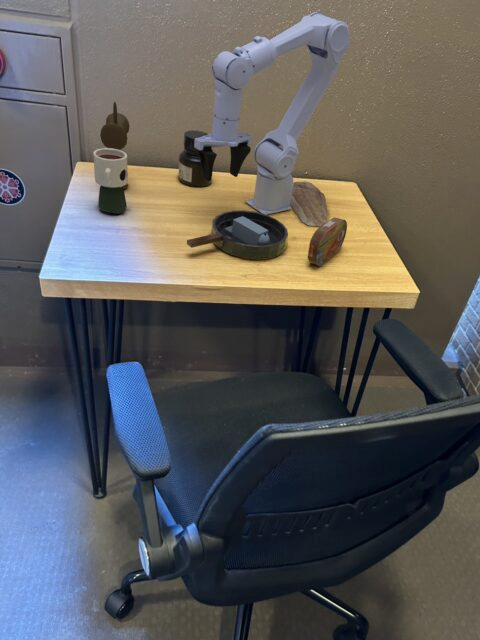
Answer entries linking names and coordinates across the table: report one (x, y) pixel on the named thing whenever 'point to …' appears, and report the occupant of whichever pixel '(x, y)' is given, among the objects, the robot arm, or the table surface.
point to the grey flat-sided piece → (248, 232)
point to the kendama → (115, 131)
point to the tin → (327, 241)
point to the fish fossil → (309, 203)
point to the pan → (242, 249)
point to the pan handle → (204, 240)
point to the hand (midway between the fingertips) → (220, 177)
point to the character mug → (111, 179)
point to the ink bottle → (191, 161)
